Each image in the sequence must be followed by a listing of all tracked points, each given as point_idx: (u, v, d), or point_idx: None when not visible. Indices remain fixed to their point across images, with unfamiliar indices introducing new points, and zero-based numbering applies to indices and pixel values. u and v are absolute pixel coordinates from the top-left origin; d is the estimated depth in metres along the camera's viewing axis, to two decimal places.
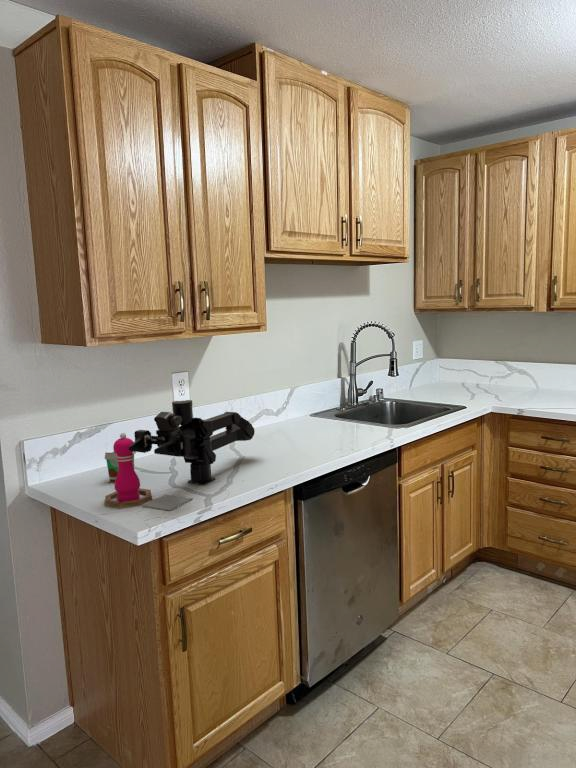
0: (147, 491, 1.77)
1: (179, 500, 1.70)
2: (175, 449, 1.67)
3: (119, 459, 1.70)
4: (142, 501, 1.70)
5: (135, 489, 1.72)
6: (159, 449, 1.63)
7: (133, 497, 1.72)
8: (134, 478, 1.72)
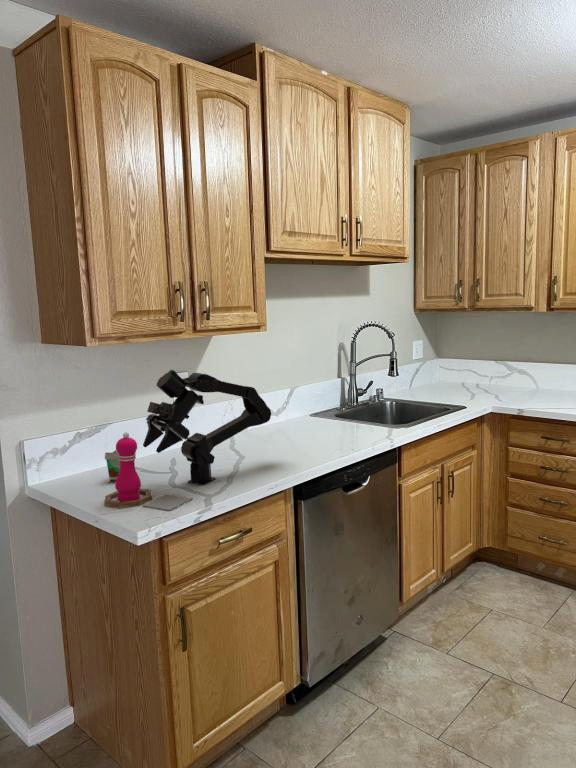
0: (147, 491, 1.77)
1: (179, 500, 1.70)
2: (175, 436, 1.74)
3: (121, 458, 1.70)
4: (142, 501, 1.70)
5: (136, 489, 1.72)
6: (160, 447, 1.73)
7: (133, 497, 1.72)
8: (135, 478, 1.72)
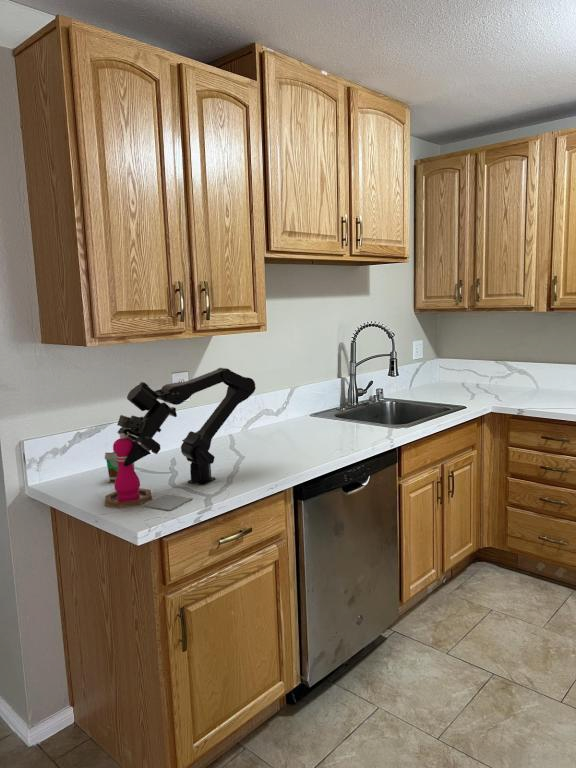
0: (147, 491, 1.77)
1: (179, 500, 1.70)
2: (143, 450, 1.70)
3: (119, 459, 1.70)
4: (142, 501, 1.70)
5: (135, 489, 1.72)
6: (127, 461, 1.69)
7: (133, 497, 1.72)
8: (134, 478, 1.72)
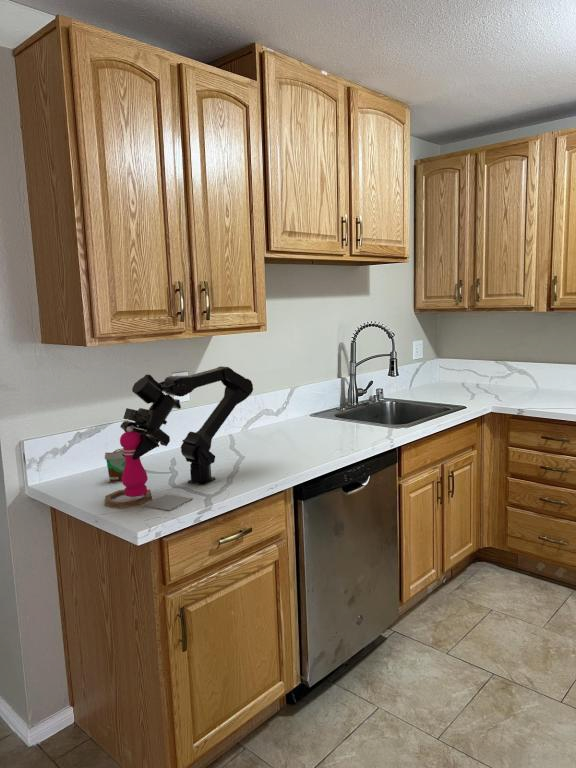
0: (147, 491, 1.77)
1: (179, 500, 1.70)
2: (151, 442, 1.69)
3: (127, 453, 1.68)
4: (142, 501, 1.70)
5: (143, 482, 1.70)
6: (136, 454, 1.68)
7: (142, 490, 1.70)
8: (142, 472, 1.70)
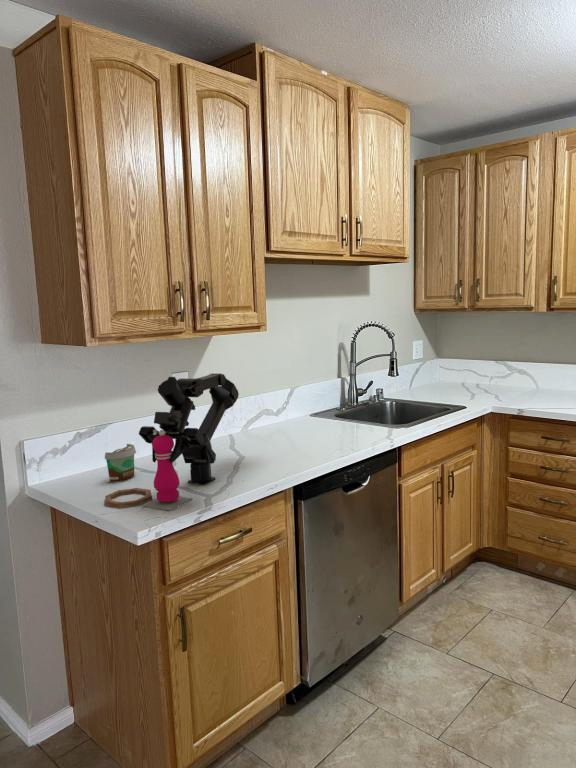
0: (147, 491, 1.77)
1: (179, 500, 1.70)
2: (184, 444, 1.69)
3: (163, 457, 1.65)
4: (142, 501, 1.70)
5: (178, 485, 1.69)
6: (173, 457, 1.66)
7: (177, 494, 1.69)
8: (176, 474, 1.69)
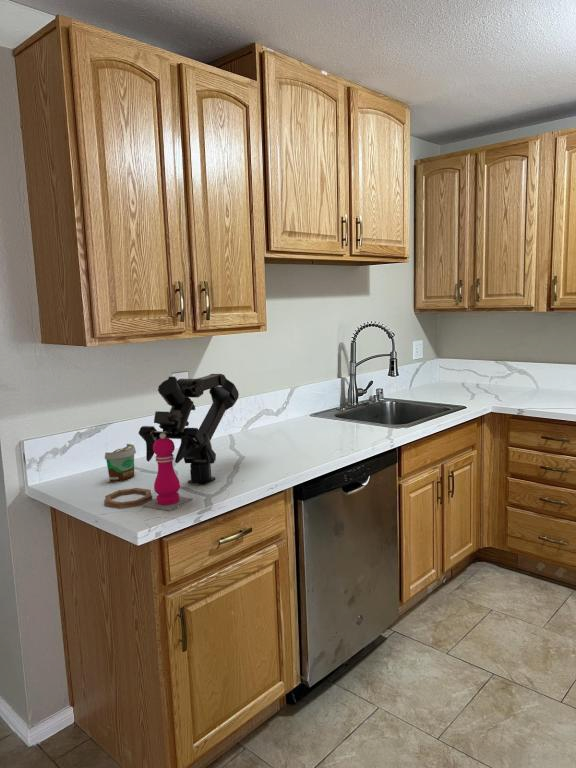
0: (147, 491, 1.77)
1: (179, 500, 1.70)
2: (190, 444, 1.68)
3: (164, 460, 1.65)
4: (142, 501, 1.70)
5: (179, 488, 1.69)
6: (179, 457, 1.65)
7: (177, 497, 1.69)
8: (177, 478, 1.69)
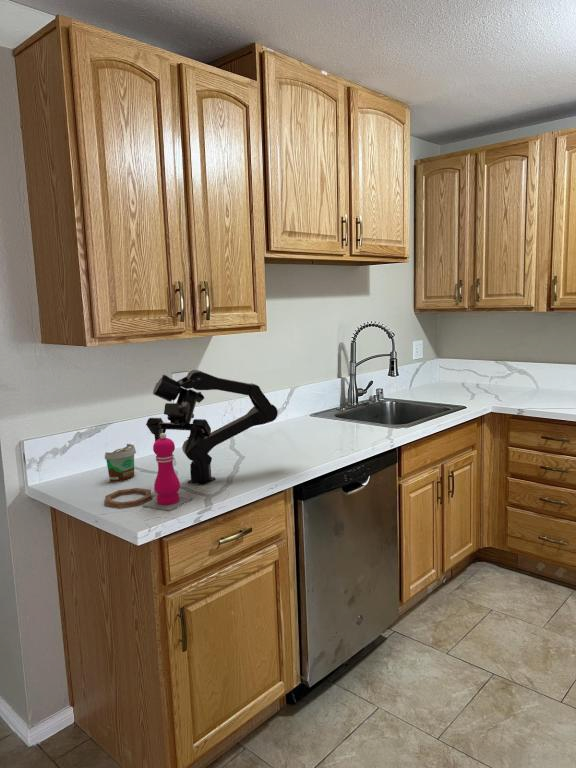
0: (147, 491, 1.77)
1: (179, 500, 1.70)
2: (198, 435, 1.76)
3: (164, 460, 1.65)
4: (142, 501, 1.70)
5: (179, 488, 1.69)
6: (189, 447, 1.72)
7: (178, 497, 1.69)
8: (177, 478, 1.69)
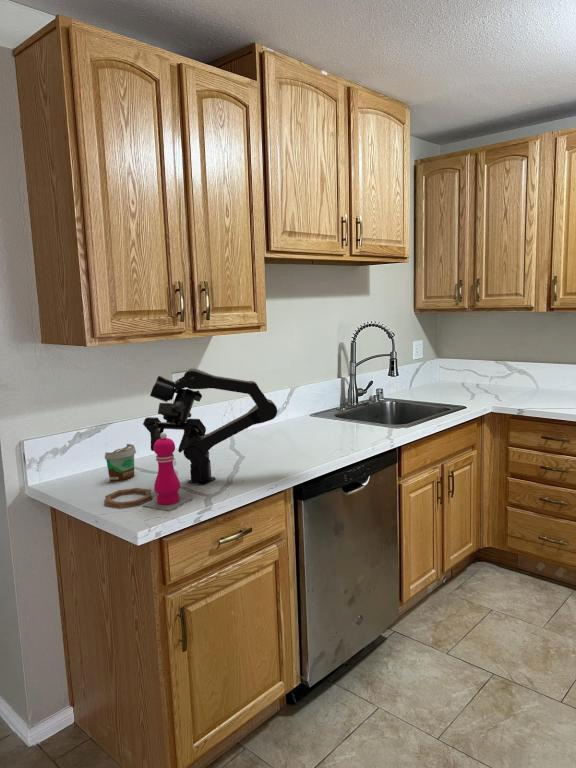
0: (147, 491, 1.77)
1: (179, 500, 1.70)
2: (192, 434, 1.76)
3: (164, 460, 1.65)
4: (142, 501, 1.70)
5: (179, 488, 1.69)
6: (182, 447, 1.73)
7: (178, 497, 1.69)
8: (177, 478, 1.69)
